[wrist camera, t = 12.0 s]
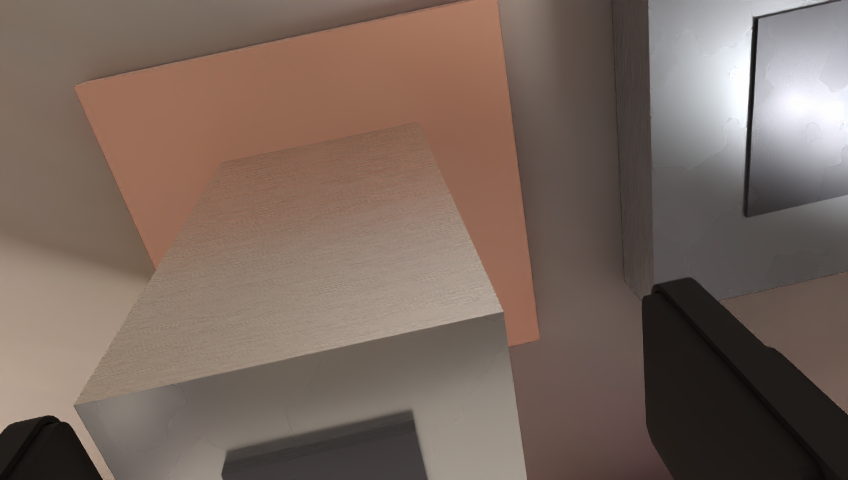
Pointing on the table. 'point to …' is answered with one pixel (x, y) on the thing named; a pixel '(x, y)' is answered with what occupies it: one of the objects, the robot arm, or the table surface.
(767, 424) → the robot arm
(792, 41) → the gray compartment tray
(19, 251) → the table surface
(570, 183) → the table surface
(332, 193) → the grey tall block
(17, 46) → the table surface
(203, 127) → the tile
